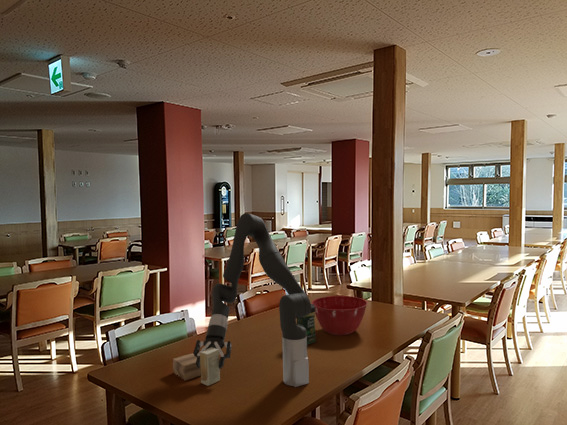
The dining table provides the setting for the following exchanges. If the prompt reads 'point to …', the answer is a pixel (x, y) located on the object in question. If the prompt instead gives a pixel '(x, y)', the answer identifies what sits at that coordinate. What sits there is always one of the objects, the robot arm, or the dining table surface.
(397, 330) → the dining table surface
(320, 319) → the mixing bowl
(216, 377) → the skincare box
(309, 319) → the coffee jar
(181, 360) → the streaked beige block
